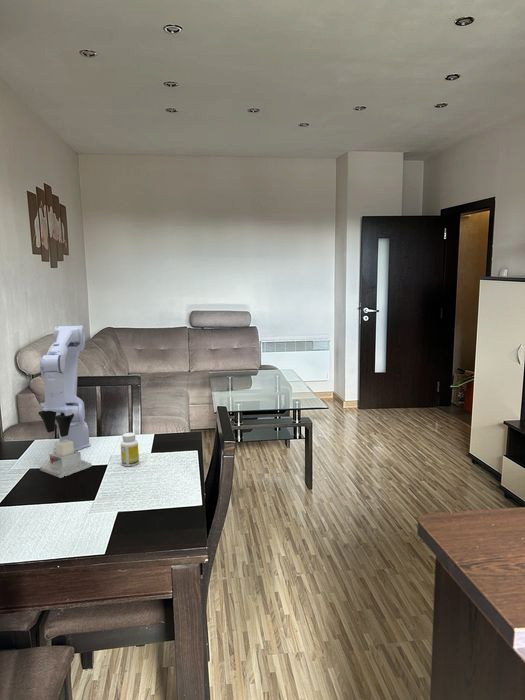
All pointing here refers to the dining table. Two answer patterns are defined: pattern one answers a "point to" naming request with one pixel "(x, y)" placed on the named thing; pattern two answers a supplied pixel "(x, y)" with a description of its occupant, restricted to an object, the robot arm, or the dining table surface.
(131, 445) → the supplement bottle
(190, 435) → the dining table surface
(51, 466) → the stand
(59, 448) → the rectangular block
